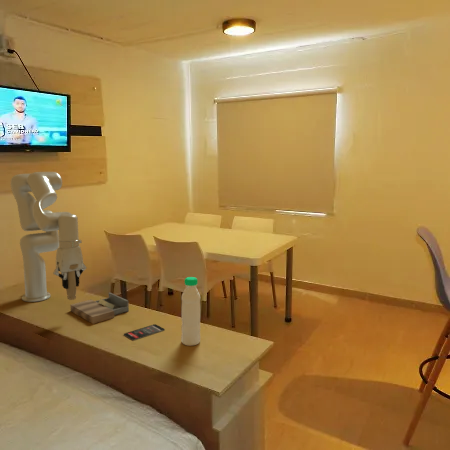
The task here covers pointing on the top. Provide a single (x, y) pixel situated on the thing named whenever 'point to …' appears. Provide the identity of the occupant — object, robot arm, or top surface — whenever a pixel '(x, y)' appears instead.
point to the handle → (71, 283)
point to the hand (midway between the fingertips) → (71, 286)
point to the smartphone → (143, 332)
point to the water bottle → (190, 313)
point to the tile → (106, 304)
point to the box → (117, 304)
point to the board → (92, 311)
